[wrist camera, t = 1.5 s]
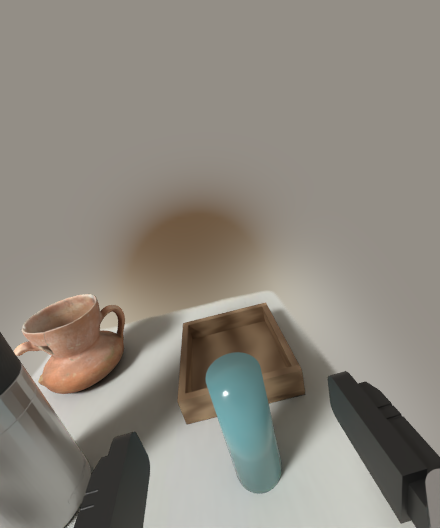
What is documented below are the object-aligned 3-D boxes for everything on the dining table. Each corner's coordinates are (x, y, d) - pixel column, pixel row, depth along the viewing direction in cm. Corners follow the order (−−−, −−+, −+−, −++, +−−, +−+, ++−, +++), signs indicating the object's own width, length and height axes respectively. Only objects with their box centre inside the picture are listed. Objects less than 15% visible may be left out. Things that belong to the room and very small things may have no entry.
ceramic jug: (44, 424, 40) (-3, 356, 35) (43, 375, 52) (8, 318, 46) (148, 362, 49) (123, 300, 44) (127, 331, 60) (106, 279, 55)
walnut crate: (186, 424, 35) (177, 401, 33) (189, 341, 51) (183, 323, 50) (305, 394, 35) (302, 370, 33) (269, 320, 51) (265, 302, 50)
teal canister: (239, 499, 26) (206, 404, 21) (232, 446, 30) (204, 359, 25) (288, 486, 26) (268, 388, 21) (273, 436, 31) (253, 347, 25)
